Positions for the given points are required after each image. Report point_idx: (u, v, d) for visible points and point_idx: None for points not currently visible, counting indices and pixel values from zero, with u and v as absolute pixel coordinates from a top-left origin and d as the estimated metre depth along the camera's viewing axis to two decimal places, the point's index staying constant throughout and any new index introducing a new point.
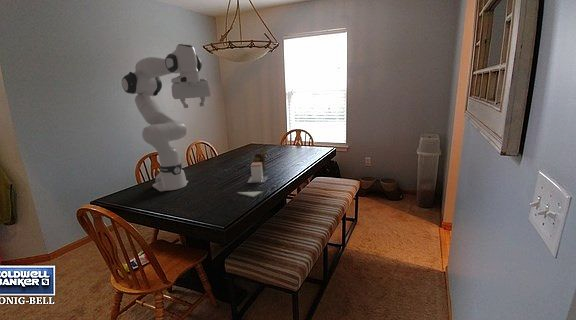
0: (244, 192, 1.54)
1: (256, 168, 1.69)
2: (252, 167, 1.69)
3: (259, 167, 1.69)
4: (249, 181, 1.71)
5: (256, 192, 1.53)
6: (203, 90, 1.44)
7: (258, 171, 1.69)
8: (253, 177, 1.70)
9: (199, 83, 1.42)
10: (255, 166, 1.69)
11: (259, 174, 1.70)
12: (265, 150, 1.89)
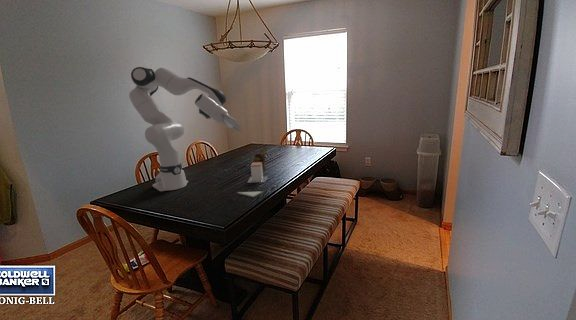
0: (244, 192, 1.54)
1: (256, 168, 1.69)
2: (252, 167, 1.69)
3: (259, 167, 1.69)
4: (249, 181, 1.71)
5: (256, 192, 1.53)
6: (228, 123, 1.60)
7: (258, 171, 1.69)
8: (253, 177, 1.70)
9: (223, 119, 1.61)
10: (255, 166, 1.69)
11: (259, 174, 1.70)
12: (265, 150, 1.89)
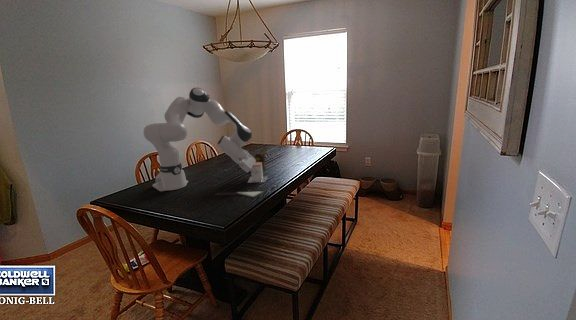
0: (244, 192, 1.54)
1: (256, 168, 1.69)
2: (252, 167, 1.69)
3: (259, 167, 1.69)
4: (249, 181, 1.71)
5: (256, 192, 1.53)
6: None
7: (258, 171, 1.69)
8: (253, 177, 1.70)
9: None
10: (255, 166, 1.69)
11: (259, 174, 1.70)
12: (265, 150, 1.89)
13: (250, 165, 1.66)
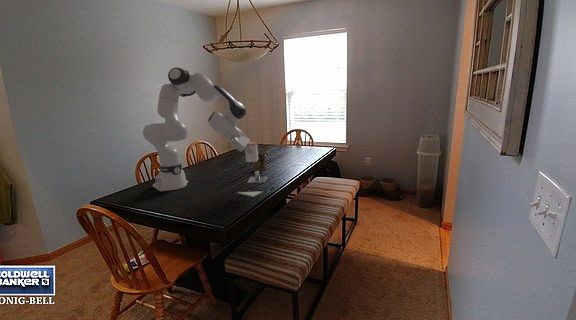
0: (244, 192, 1.54)
1: (250, 147, 1.54)
2: (246, 146, 1.54)
3: (254, 146, 1.53)
4: (249, 181, 1.71)
5: (256, 192, 1.53)
6: None
7: (253, 151, 1.54)
8: (247, 157, 1.55)
9: None
10: (249, 145, 1.53)
11: (254, 154, 1.54)
12: (265, 150, 1.89)
13: (244, 143, 1.51)
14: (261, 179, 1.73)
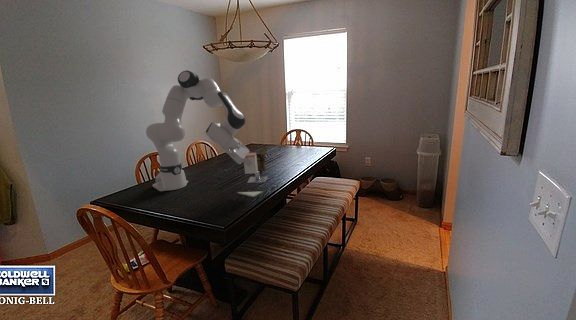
0: (244, 192, 1.54)
1: (250, 159, 1.49)
2: (245, 158, 1.49)
3: (253, 158, 1.49)
4: (249, 181, 1.71)
5: (256, 192, 1.53)
6: None
7: (252, 162, 1.50)
8: (246, 169, 1.51)
9: None
10: (248, 157, 1.49)
11: (253, 166, 1.50)
12: (265, 150, 1.89)
13: (242, 155, 1.46)
14: (261, 179, 1.73)
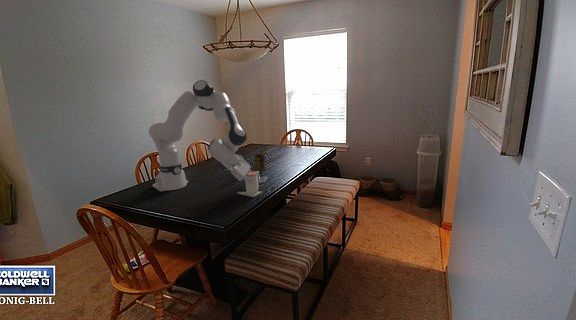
0: (244, 192, 1.54)
1: (251, 178, 1.51)
2: None
3: (254, 177, 1.51)
4: None
5: (256, 192, 1.53)
6: None
7: (253, 181, 1.52)
8: (247, 188, 1.53)
9: None
10: (250, 176, 1.51)
11: (254, 185, 1.52)
12: (265, 150, 1.89)
13: (243, 172, 1.48)
14: (261, 179, 1.73)
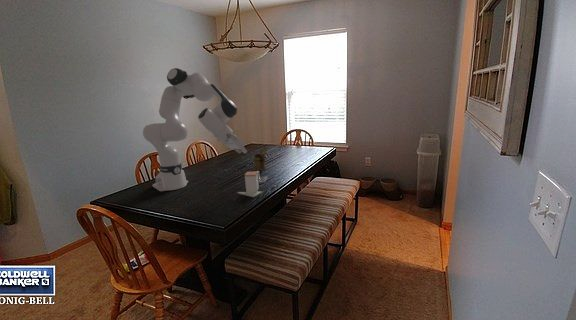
0: (244, 192, 1.54)
1: (251, 178, 1.51)
2: (246, 177, 1.51)
3: (254, 177, 1.51)
4: None
5: (256, 192, 1.53)
6: (233, 144, 1.45)
7: (253, 181, 1.52)
8: (247, 188, 1.53)
9: (227, 139, 1.45)
10: (250, 176, 1.51)
11: (254, 185, 1.52)
12: (265, 150, 1.89)
13: None
14: (261, 179, 1.73)
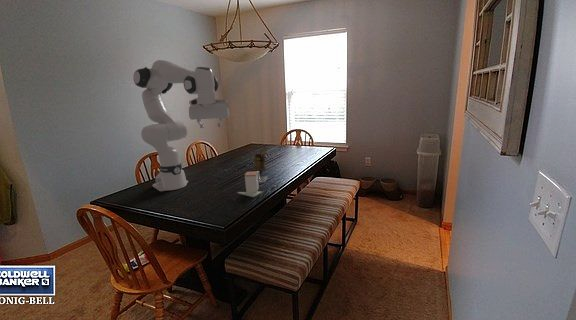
0: (244, 192, 1.54)
1: (251, 178, 1.51)
2: (246, 177, 1.51)
3: (254, 177, 1.51)
4: None
5: (256, 192, 1.53)
6: (218, 112, 1.42)
7: (253, 181, 1.52)
8: (247, 188, 1.53)
9: (214, 104, 1.42)
10: (250, 176, 1.51)
11: (254, 185, 1.52)
12: (265, 150, 1.89)
13: None
14: (261, 179, 1.73)
